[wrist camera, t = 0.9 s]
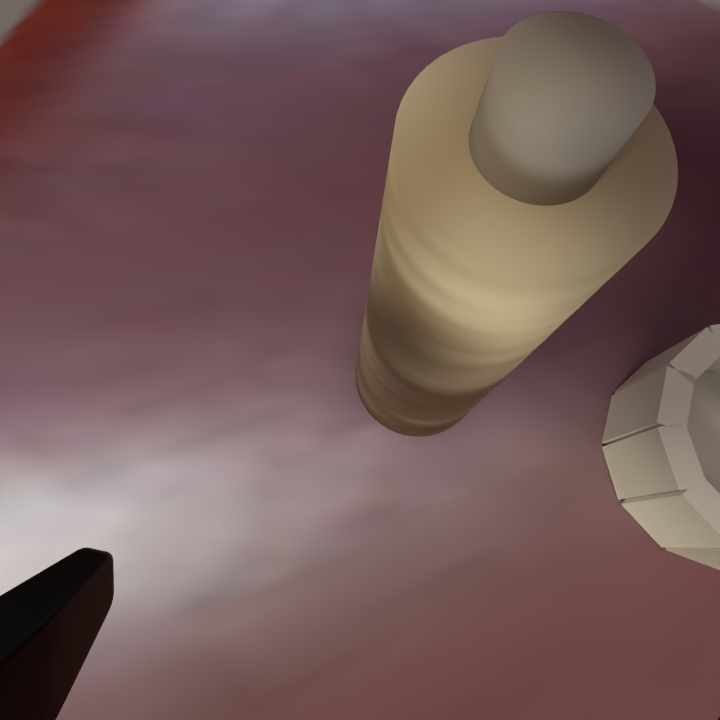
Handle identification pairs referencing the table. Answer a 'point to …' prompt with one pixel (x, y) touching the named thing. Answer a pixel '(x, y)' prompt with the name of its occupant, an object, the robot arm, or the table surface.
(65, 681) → the robot arm
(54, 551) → the table surface
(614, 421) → the socket
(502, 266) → the pepper mill
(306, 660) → the table surface
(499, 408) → the table surface
